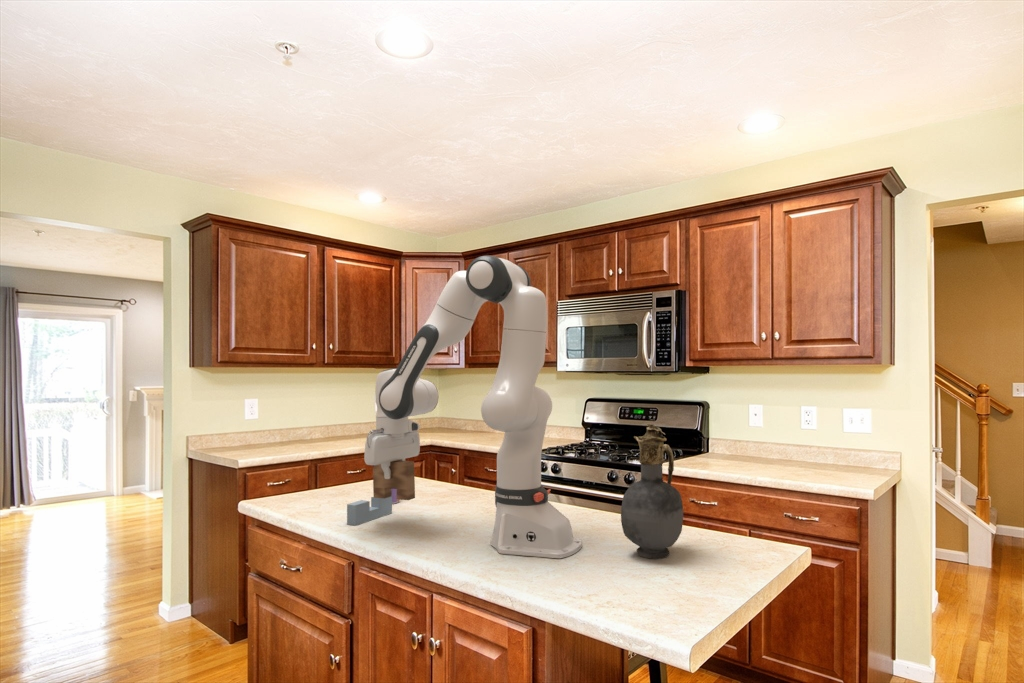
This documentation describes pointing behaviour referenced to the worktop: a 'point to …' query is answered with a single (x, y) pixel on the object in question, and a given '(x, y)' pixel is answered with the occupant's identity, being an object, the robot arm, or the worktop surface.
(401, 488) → the wooden bridge block
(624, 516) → the pitcher
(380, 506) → the notched grey block
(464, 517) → the worktop surface
